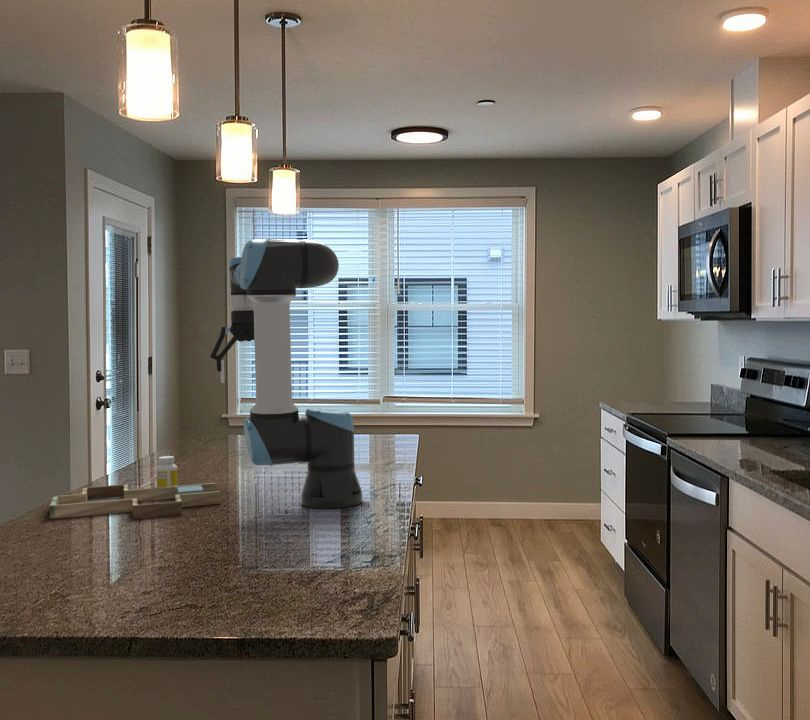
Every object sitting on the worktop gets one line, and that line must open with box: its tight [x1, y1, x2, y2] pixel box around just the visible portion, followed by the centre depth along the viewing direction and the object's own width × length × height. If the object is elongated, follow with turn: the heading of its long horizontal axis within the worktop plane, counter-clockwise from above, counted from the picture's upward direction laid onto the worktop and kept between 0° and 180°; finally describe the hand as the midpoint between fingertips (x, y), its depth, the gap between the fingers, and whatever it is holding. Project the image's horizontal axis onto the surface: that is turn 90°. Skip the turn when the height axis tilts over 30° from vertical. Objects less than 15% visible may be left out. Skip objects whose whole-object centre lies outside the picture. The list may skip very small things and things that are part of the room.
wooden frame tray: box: [49, 482, 222, 520], centre depth 207 cm, size 28×40×3 cm
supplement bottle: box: [156, 455, 179, 488], centre depth 220 cm, size 5×5×10 cm
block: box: [177, 485, 204, 494], centre depth 211 cm, size 6×6×4 cm
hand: (246, 381), depth 245 cm, fingers open, 13 cm apart
